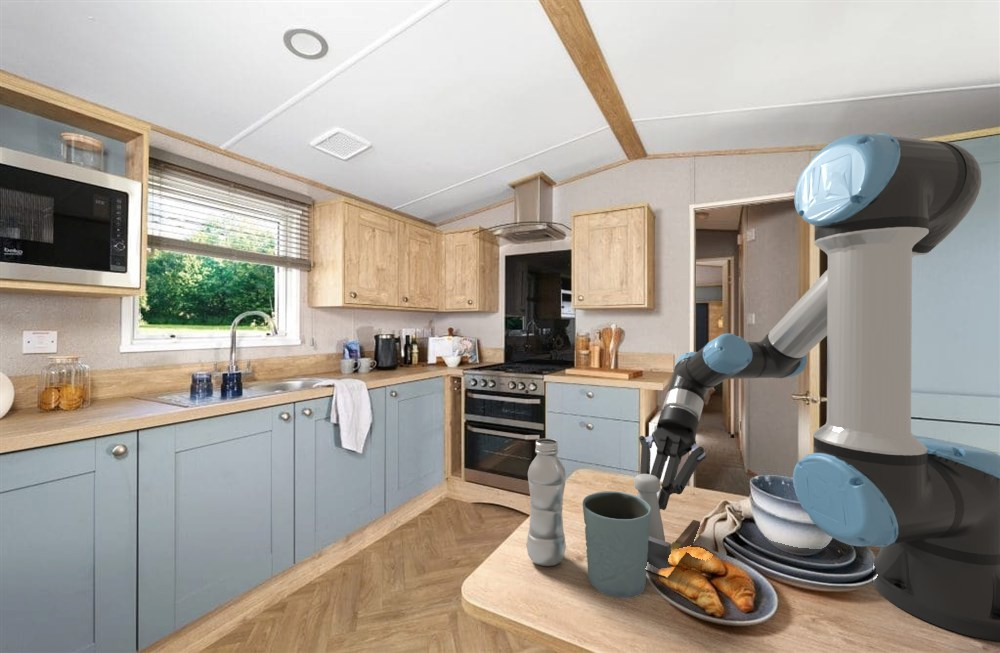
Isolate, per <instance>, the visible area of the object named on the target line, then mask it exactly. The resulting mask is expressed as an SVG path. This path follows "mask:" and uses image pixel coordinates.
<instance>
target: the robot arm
mask: <svg viewBox="0 0 1000 653" xmlns="http://www.w3.org/2000/svg"><path fill="white" fill-rule="evenodd" d="M981 186H982V171H981V168H980V166H979V162H978V160H977V159H976V158H975V156H974V155H973V154H972V153H971V152H970V151H968V150H967V149H965V148H964V147H962V146H960V145H958V144H954V143H951V142H948V141H941V140H927V139H918V138H917V139H916V138H911V137H910V138H909V137H901V136H893V135H892V134H888V133H884V132H883V133H882V132H878V133H871V134H870V133H855V134H850V135H849V134H848V135H846V136H843V137H841V138H838V139H836V140H834V141H832V142H830V143H829V144H827V145H826V146H825V147H823V148H822V149H821V150H820V151H818V152H817V153H816V154H815V155H814V156H813V157H812V159H811V160H810V162H809V164H808V165H805V167H804V169H803V170H802V172H801V174H800V176H799V178H798V181H797V183H796V186H795V191H794V195H793V198H794V200H793V201H794V207H795V208H794V209H795V210H796V212H797V214H798V216H800V217H801V218H802V219H803V221H804V222H806V223H808V224H810V225H812V226H814V227H813V228H814V235H813V236H814V242H813V244H814V245H815V246H816V247H817V248H818V249H820V250H821V251H823V253H825V254H826V255H827V270H825V271H824V272H823V274H821V276H820V277H819V278H818V279H817V280H816V281H815V282H814V283H813V284H812V285H811V286H810V288H809V289H808V290H807V291H806V292H804V294H803V295H802V296H801V298H800V299H798V300H797V302H796V303H795V304H794V305H793V306H792V307H791V308H790V309H789V310H788V311H787V312H786V314H784V316H783V317H782V318H781V319H780V320H779V321H778V322H777V323H776V324H775V326H773V328H772V329H770V331H769V332H768V333H767V334H766V335H765V336H764V337H763V338H762V339H761V340H760V341H746V340H745V338H743V337H741V336H737V335H736V334H735V333H721V334H720V335H718V336H717V337H715V338H714V339H712V340H710V341H709V342H707V343H706V344H705V345H704V346H703V347H702V348H700V349H699V350H698V351H689V352H685V353H683V354H681V355H680V356H679V357H678V360H677V362H676V363H675V365H674V369H673V374H672V377H671V380H670V384H669V386H668V390H667V393H666V396H665V399H664V402H663V405H662V409H661V411H660V414H659V417H658V420H657V423H656V427H655V430H653V431H652V433H651V435H649V436H644V435H640V436H639V437H638V441H639V443H640V446H641V448H640V449H641V450H640V469H639V471H640V472H639V474H651V475H654V476H656V477H657V478H658V479H659V480H660V481H661V479H662V475H663V473H664V476H663V480H662V482H660V491H658V492H657V497H658V503H659V508H660V510H662V511H665V510H666V509H667V507H668V504H669V499H670V496H671V495H673V494H677V495H681V494H682V493H683V491H684V490H685V488H686V486H687V484H688V483H689V481H690V479H691V477H692V476H693V474H694V473H695V470H696V469H697V467H698V466H699V464H700V463H701V462H703V461H704V460H705V459H706V458H707V453H706V451H705V448H704V447H702V446H699V445H697V441H696V435H697V432H698V429H699V424H700V423H699V422H700V419H701V416H702V413H703V408H704V405H705V400H706V397H707V395H708V391H709V390H711V389H712V388H714V387H716V386H718V385H719V384H720V383H722V382H724V381H726V380H739V379H740V380H741V379H785V378H789V377H796V376H798V375H800V374H802V373H803V372H804V371H805V369H806V364H807V363H808V356H807V355H808V354H809V353H810V352H811V351H812V350H813V348H815V347H816V346H817V345H818V344H819V343H820V342H822V340H824V339H825V338H826V340H827V341H826V344H827V348H826V355H827V356H826V361H827V362H826V421H825V424H824V425H822V426H820V427H819V428H818V429H816V430H815V431H814V432H813V433H812V434H813V441H812V442H813V444H812V446H813V449H812V450H813V451H812V452H813V453H811V454H806V455H805V456H804V457H802V458H801V459H800V461H798V462H797V463H796V464H795V466H794V468H793V473H792V483H793V488H794V493H795V495H796V498H797V500H798V502H799V505H800V506H801V508H802V509H803V511H804V512H805V513H806V514H807V515H808V516H809V518H810V520H811V521H812V522H813V524H814V525H815V526H817V528H819V529H820V530H821V531H822V532H823V533H825V534H826V535H828V536H830V537H831V538H833V539H834V540H836V541H838V542H840V543H843V544H846V545H850V546H854V547H876V548H877V547H878V548H880V549H879V551H878V552H877V555H875V556H876V557H875V558H874V560H873V562H874V566H875V568H876V574H878V576H877V578H876V579H875V581H874V582H873V583H872V585H873V587H874V588H875V589H876V590H877V592H878V593H879V594H880V596H883V598H885V599H886V600H887V601H889V602H891V603H892V604H893V605H895V606H897V607H898V608H900V609H901V610H903V611H905V612H907V613H909V614H911V615H912V616H915V617H917V618H919V619H921V620H923V621H926V622H927V623H929V624H933V625H935V626H937V627H940V628H943V629H945V630H949V631H951V632H954V633H958V634H962V635H966V636H969V637H973V638H978V639H983V640H988V641H995V642H996V641H997V642H1000V454H998V453H996V452H994V451H991V450H988V449H985V448H982V447H981V448H980V447H977V446H973V445H969V444H963V443H960V442H955V441H949V440H944V439H940V438H933V437H927V436H921V435H917V434H913V433H912V323H913V320H912V316H913V315H912V307H913V306H912V305H913V304H912V300H913V298H912V296H913V295H912V290H913V287H912V286H913V283H912V282H913V281H912V280H913V278H912V276H913V271H912V269H913V257H916V256H924V255H927V254H929V253H930V252H932V250H934V249H935V248H936V247H937V246H938V245H939V244H940V243H941V242H943V240H945V238H947V237H948V236H949V235H950V234H951V233H952V232H953V231H954V230H955V229H956V228H957V227H958V226H959V224H960V223H961V222H962V221H963V220H964V218H966V216H967V215H968V213H969V212H970V210H971V209H972V207H973V206H974V205H975V202H976V200H977V198H978V196H979V194H980V190H981ZM653 443H654V444H655V446H656V455H655V458H654V461H653V465H652V468H651V449H652V447H653ZM689 452H690V454H689V455H688V456H687V458H686V460H685V462H684V463H683V465H682V467H681V468H680V471H679V472H678V469H679V467H680V464H681V462H682V461H681V460H682V458H683V457H684V456H685V455H687V454H688V453H689ZM667 461H668V463H667V465H666V462H667ZM665 465H666V470H665V472H664V468H665ZM677 473H678V474H677Z"/></svg>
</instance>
